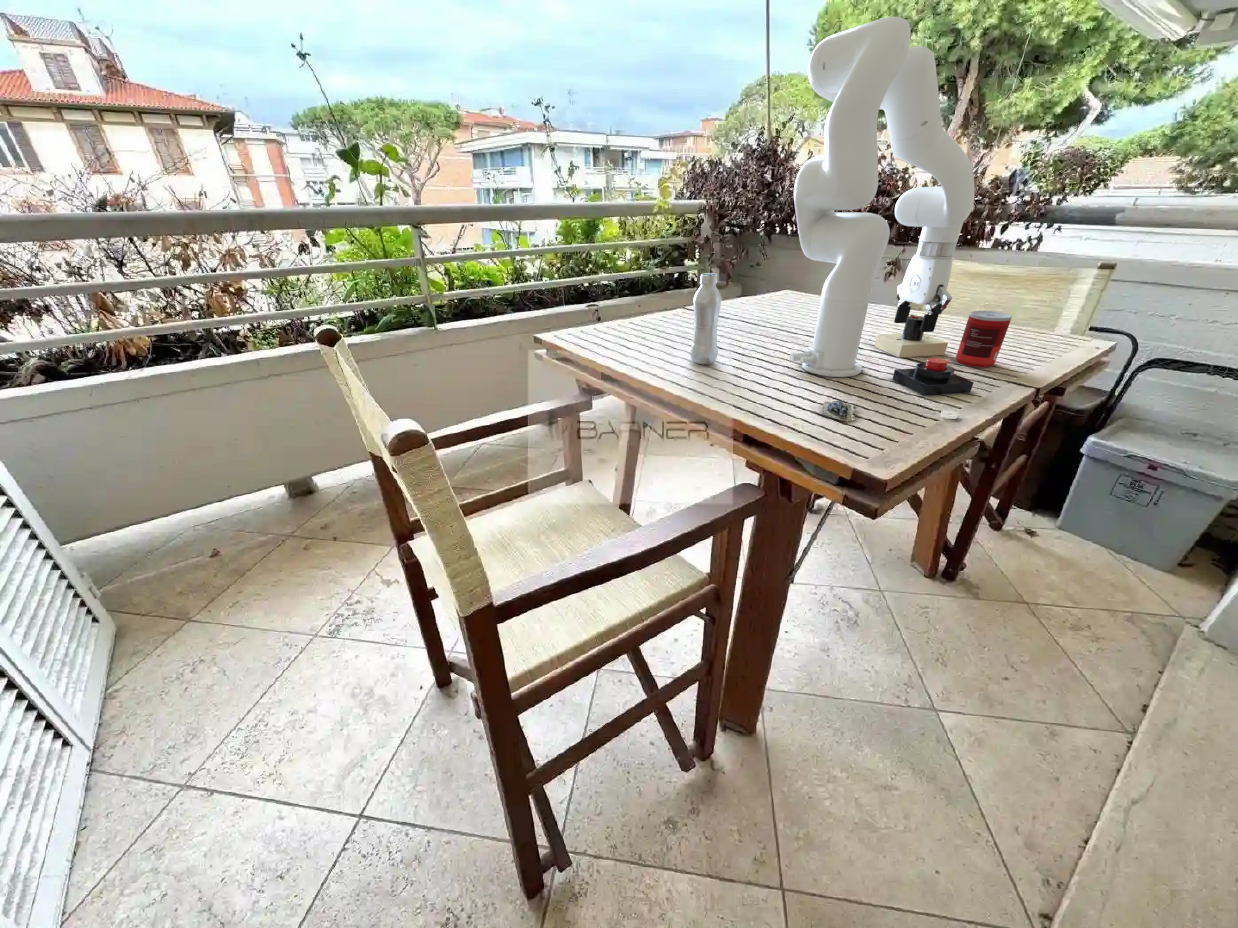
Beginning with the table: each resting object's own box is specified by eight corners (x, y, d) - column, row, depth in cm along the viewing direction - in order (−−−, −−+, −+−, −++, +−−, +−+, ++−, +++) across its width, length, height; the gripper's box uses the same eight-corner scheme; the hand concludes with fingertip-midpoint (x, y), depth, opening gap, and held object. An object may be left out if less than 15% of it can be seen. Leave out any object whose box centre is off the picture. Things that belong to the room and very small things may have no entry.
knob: (925, 340, 118) (932, 318, 116) (909, 341, 118) (915, 319, 115) (913, 335, 122) (919, 314, 119) (897, 336, 121) (903, 315, 119)
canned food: (982, 357, 115) (998, 310, 109) (1001, 368, 108) (1020, 318, 102) (948, 357, 115) (963, 310, 110) (965, 368, 108) (982, 318, 103)
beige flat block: (898, 357, 116) (902, 344, 115) (874, 346, 125) (877, 334, 123) (944, 354, 117) (948, 342, 116) (917, 344, 126) (920, 332, 125)
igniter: (923, 396, 94) (929, 376, 92) (891, 379, 103) (896, 361, 101) (970, 392, 95) (977, 373, 93) (935, 376, 104) (940, 358, 102)
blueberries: (850, 404, 91) (852, 395, 90) (868, 421, 84) (871, 411, 83) (814, 405, 92) (816, 395, 91) (829, 422, 85) (831, 412, 84)
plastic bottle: (686, 365, 114) (690, 276, 104) (693, 357, 120) (698, 272, 110) (713, 368, 112) (720, 277, 102) (719, 360, 118) (726, 272, 108)
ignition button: (932, 372, 96) (935, 363, 95) (920, 366, 99) (923, 358, 98) (949, 371, 96) (952, 362, 95) (936, 365, 99) (939, 357, 98)
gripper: (895, 248, 117) (877, 320, 125) (947, 254, 102) (922, 335, 110) (924, 248, 118) (904, 319, 126) (979, 254, 103) (952, 335, 111)
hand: (912, 327), depth 118 cm, fingers open, 9 cm apart
